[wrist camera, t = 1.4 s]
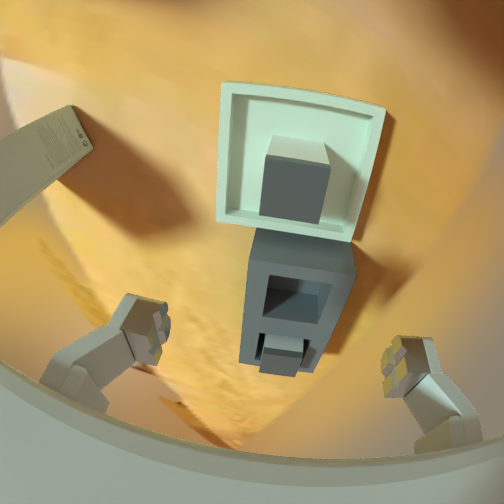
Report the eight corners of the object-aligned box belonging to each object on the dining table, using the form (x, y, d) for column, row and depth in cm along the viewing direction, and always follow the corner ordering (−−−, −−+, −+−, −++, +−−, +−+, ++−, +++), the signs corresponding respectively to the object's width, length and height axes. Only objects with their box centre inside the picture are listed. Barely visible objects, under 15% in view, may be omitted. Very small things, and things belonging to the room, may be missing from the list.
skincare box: (71, 102, 22) (-51, 164, 10) (97, 151, 25) (-13, 235, 13) (32, 142, 25) (-65, 209, 13) (55, 183, 28) (-34, 262, 16)
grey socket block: (256, 226, 28) (247, 263, 23) (350, 240, 27) (358, 280, 23) (245, 330, 37) (237, 366, 33) (313, 340, 37) (312, 377, 32)
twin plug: (269, 309, 33) (263, 353, 28) (304, 314, 33) (302, 358, 28) (265, 330, 35) (258, 372, 31) (297, 335, 35) (294, 377, 30)
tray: (227, 80, 20) (221, 82, 18) (379, 105, 19) (386, 108, 18) (220, 211, 27) (215, 221, 26) (348, 231, 26) (350, 242, 25)
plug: (272, 134, 22) (264, 158, 17) (323, 142, 21) (331, 168, 17) (267, 179, 24) (258, 215, 19) (315, 187, 24) (318, 224, 19)
